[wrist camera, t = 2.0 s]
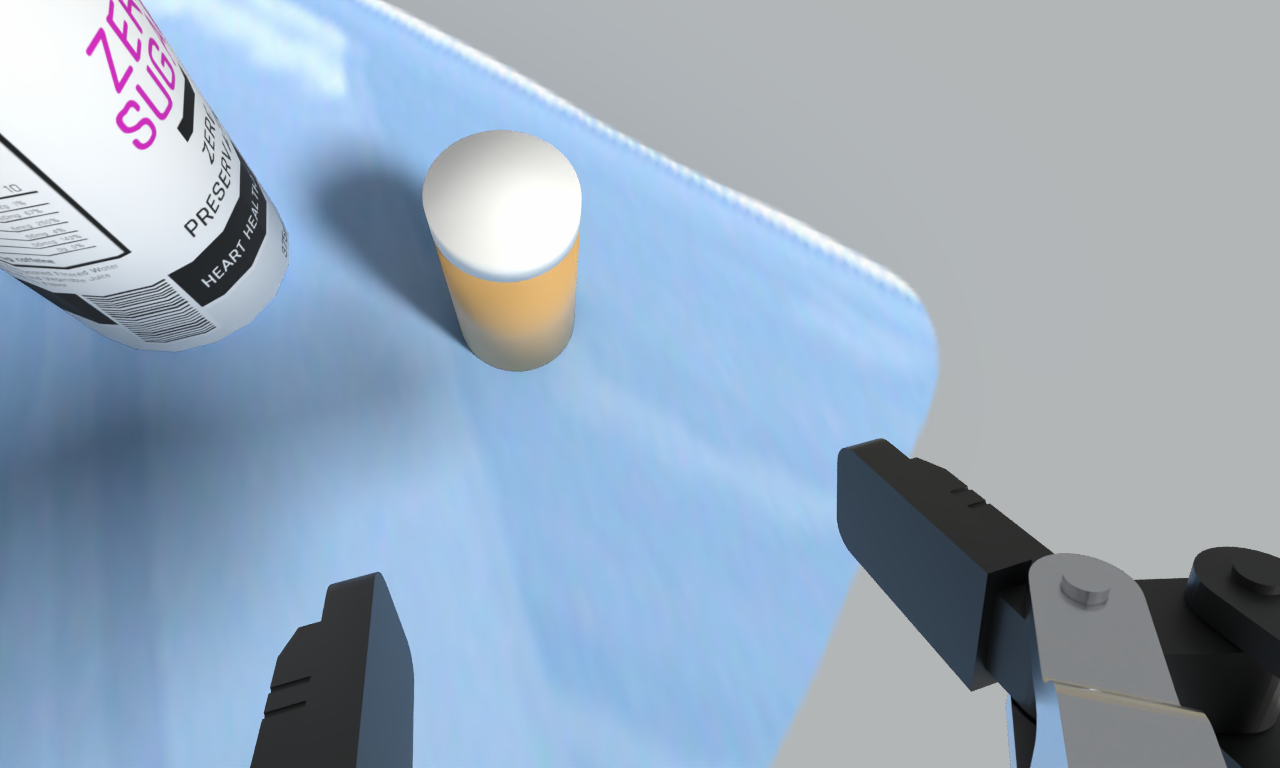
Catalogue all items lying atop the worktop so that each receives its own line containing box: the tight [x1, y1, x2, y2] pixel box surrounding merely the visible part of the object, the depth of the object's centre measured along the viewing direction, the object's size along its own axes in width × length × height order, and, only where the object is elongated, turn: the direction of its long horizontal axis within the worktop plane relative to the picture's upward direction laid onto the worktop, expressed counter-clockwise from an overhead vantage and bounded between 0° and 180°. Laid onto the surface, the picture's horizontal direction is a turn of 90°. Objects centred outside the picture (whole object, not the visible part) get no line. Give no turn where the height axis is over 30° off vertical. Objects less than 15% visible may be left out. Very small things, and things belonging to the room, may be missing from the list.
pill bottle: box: [422, 130, 581, 371], centre depth 25 cm, size 5×5×9 cm
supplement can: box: [0, 0, 289, 352], centre depth 22 cm, size 8×8×15 cm
